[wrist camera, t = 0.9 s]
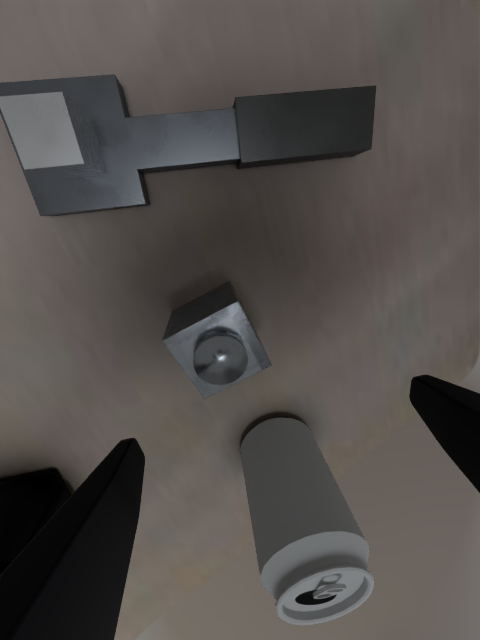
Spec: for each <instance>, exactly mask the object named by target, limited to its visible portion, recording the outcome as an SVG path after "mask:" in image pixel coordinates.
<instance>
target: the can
mask: <svg viewBox="0 0 480 640" xmlns="http://www.w3.org/2000/svg"><path fill="white" fill-rule="evenodd" d="M240 453H241V460H242V466H243V472H244V478H245V485H246V491H247V497H248V503H249V510H250V516H251V522H252V528H253V535H254V541H255V546H256V553H257V560H258V566H259V572H260V578H261V583H262V586H263V587H264V588H265V589H266V590H267V591H268V592H269V593H270V594H271V595H272V596H273V597H274V598H275V599H276V600H277V602H276V604H275V606H276V612H277V615H278V616H279V617H280V618H281V619H282V620H283V621H285V622H289V623H291V624H295V625H296V624H297V625H310V624H318V623H322V622H326V621H329V620H333V619H336V618H338V617H340V616H343V615H345V614H347V613H349V612H350V611H352V610H354V609H355V608H357V607H358V606H360V605H361V604H362V603H363V602H364V601H365V600H366V599H367V598H368V597H369V595H370V594H371V592H372V591H373V587H374V579H373V576H372V574H371V573H370V571H368V570H367V564H368V557H369V550H370V548H369V546H368V544H367V542H366V540H365V538H364V536H363V534H362V532H361V530H360V528H359V526H358V524H357V522H356V520H355V518H354V516H353V514H352V512H351V510H350V508H349V506H348V504H347V502H346V500H345V499H344V496H343V494H342V492H341V490H340V488H339V486H338V484H337V483H336V480H335V478H334V477H333V475H332V473H331V471H330V469H329V467H328V465H327V463H326V461H325V459H324V457H323V455H322V453H321V451H320V449H319V447H318V445H317V443H316V441H315V439H314V437H313V435H312V433H311V431H310V429H309V427H307V426H306V425H305V424H304V423H303V422H301V421H298V420H295V419H293V418H278V417H277V418H272V419H268V420H266V421H263V422H261V423H259V424H258V425H257V426H256V427H255V428H253V429H252V430H251V431H250V432H249V433H248V434H247V435H246V437H245V438H244V440H243V441H242V445H241V449H240Z"/></svg>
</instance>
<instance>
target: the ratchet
mask: <svg viewBox="0 0 480 640" xmlns="http://www.w3.org/2000/svg"><path fill="white" fill-rule="evenodd" d="M375 94H376V86H365V87H353V88H341V89H330V90H318V91H306V92H294V93H282V94H270V95H258V96H246V97H235V101H234V105H233V108H232V109H221V110H210V111H198V112H187V113H175V114H164V115H153V116H141V117H130V116H129V112H128V108H127V103H126V99H125V95H124V90H123V88H122V86H121V84H120V83H119V81H118V79H117V78H116V76H115V75H102V76H88V77H74V78H61V79H47V80H34V81H20V82H6V83H0V114H1V116H2V119H3V121H4V124H5V126H6V129H7V131H8V134H9V136H10V139H11V142H12V144H13V147H14V149H15V152H16V154H17V157H18V159H19V162H20V165H21V167H22V170H23V172H24V175H25V177H26V180H27V182H28V185H29V188H30V190H31V193H32V195H33V198H34V200H35V203H36V205H37V208H38V211H39V213H40V216H60V215H69V214H77V213H86V212H94V211H103V210H111V209H120V208H128V207H137V206H146V205H150V203H149V198H148V194H147V190H146V185H145V181H144V177H143V174H144V173H153V172H163V171H172V170H182V169H191V168H200V167H210V166H219V165H229V164H237V169H241V168H251V167H260V166H269V165H278V164H288V163H297V162H306V161H315V160H325V159H334V158H343V157H352V156H355V155H358V154H360V153H363V152H365V151H367V150H370V149H371V147H372V134H373V121H374V108H375Z"/></svg>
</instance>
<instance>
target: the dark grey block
mask: <svg viewBox="0 0 480 640" xmlns="http://www.w3.org/2000/svg"><path fill="white" fill-rule="evenodd" d="M162 341H163V343H164V344H165V345H166V347H167V348H168V350H169V351H170V352H171V354H172V355H173V356H174V358H175V359H176V361H177V362H178V363H179V365H180V366H181V367H182V369H183V370H184V371H185V373H186V374H187V376H188V377H189V378H190V380H191V381H192V382H193V384H194V385H195V386H196V388H197V389H198V391H199V392H200V393H201V395H202V396H203V397H204V399H206V398H208V397H210V396H212V395H214V394H216V393H218V392H220V391H222V390H224V389H226V388H228V387H230V386H232V385H234V384H236V383H237V382H239V381H241V380H243V379H245V378H247V377H249V376H251V375H253V374H255V373H257V372H259V371H261V370H263V369H265V368H267V367H269V366H271V362H270V360H269V358H268V356H267V354H266V352H265V350H264V348H263V345H262V343H261V341H260V339H259V337H258V335H257V333H256V331H255V329H254V327H253V325H252V323H251V321H250V320H249V318H248V316H247V314H246V312H245V310H244V308H243V306H242V304H241V303H240V301H239V299H238V297H237V295H236V293H235V291H234V289H233V287H232V286H231V284H230V282H227V283H225V284H223V285H221V286H220V287H218V288H216V289H214V290H212V291H210V292H208V293H206V294H205V295H203V296H201V297H199V298H197V299H195V300H193V301H191V302H189V303H188V304H186V305H184V306H182V307H180V308H178V309H176V310H174V311H172V313H171V316H170V319H169V322H168V325H167V328H166V331H165V334H164V337H163V340H162Z"/></svg>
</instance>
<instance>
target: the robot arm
mask: <svg viewBox="0 0 480 640" xmlns="http://www.w3.org/2000/svg"><path fill="white" fill-rule="evenodd" d="M409 397H410V401H411V403H412V405H413V406H414V408H415V409H416V411H417V412H418V414H419V415H420V416H421V418H422V419H423V421H424V422H425V424H426V425H427V426H428V428H429V429H430V431H431V432H432V434H433V435H434V437H435V438H436V440H437V441H438V442H439V443H440V445H441V446H442V448H443V449H444V450H445V451H446V453H447V454H448V455H449V457H450V458H451V459H452V460H453V461H454V462H455V464H456V465H457V466H458V467H459V469H460V470H461V471H462V472H463V473H464V475H465V476H466V477H467V478H468V479H469V481H470V482H471V483H472V484H473V485H474V486H475V488H476V489H477V490H478V491H479V493H480V394H479V393H477V392H474V391H471V390H468V389H466V388H462V387H460V386H457V385H455V384H452V383H449V382H446V381H444V380H441V379H438V378H435V377H433V376H430V375H421V376H416V377H413V379H412V381H411V388H410V395H409ZM144 466H145V456H144V453H143V451H142V449H141V448H140V446H139V444H138V442H137V440H136V439H135V438H129V439H124V440H121V441H120V442H119V443H118V444H117V445H116V446H115V447H114V448H113V450H112V451H111V452H110V453H109V454H108V455H107V456H106V457H105V459H104V460H103V461H102V462H101V463H100V464H99V465H98V466H97V468H96V469H95V470H94V471H93V472H92V473H91V474H90V475H89V476H88V478H87V479H86V480H85V481H84V482H83V483H82V484H81V485H80V487H79V488H78V489H77V490H76V491H75V492H74V493H73V494H72V495H71V494H70V492H69V490H68V489H67V487H66V485H65V484H64V482H63V480H62V478H61V477H60V475H59V473H58V472H57V471H56V470H54V469H48V470H43V471H38V472H33V473H28V474H23V475H18V476H13V477H8V478H3V479H0V640H114V637H115V632H116V627H117V622H118V617H119V612H120V607H121V603H122V598H123V593H124V588H125V583H126V578H127V573H128V568H129V563H130V558H131V554H132V549H133V544H134V539H135V534H136V529H137V524H138V518H139V512H140V503H141V494H142V485H143V475H144Z"/></svg>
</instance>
